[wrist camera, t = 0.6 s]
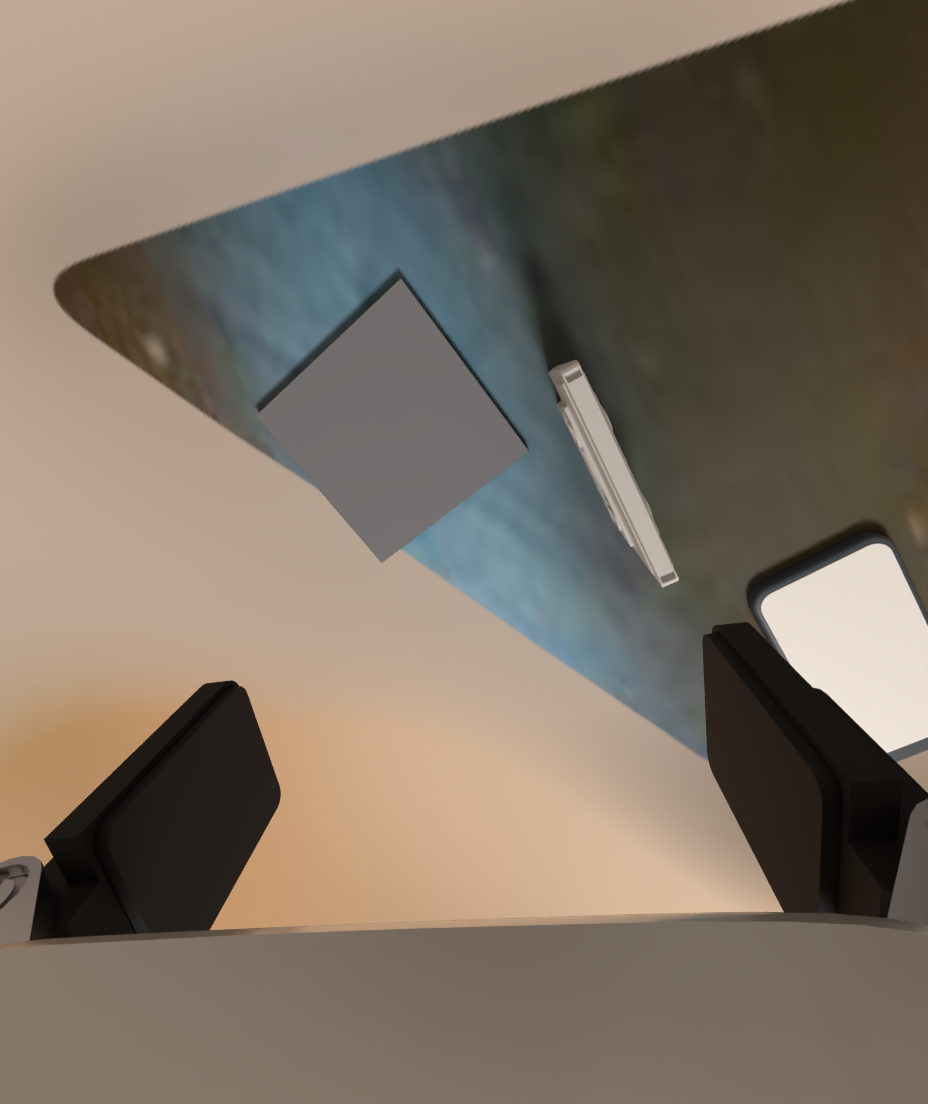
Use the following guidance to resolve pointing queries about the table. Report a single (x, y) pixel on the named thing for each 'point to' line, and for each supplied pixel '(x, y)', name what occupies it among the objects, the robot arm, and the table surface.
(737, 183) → the table surface
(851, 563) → the phone case
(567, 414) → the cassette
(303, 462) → the pad
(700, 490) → the table surface
